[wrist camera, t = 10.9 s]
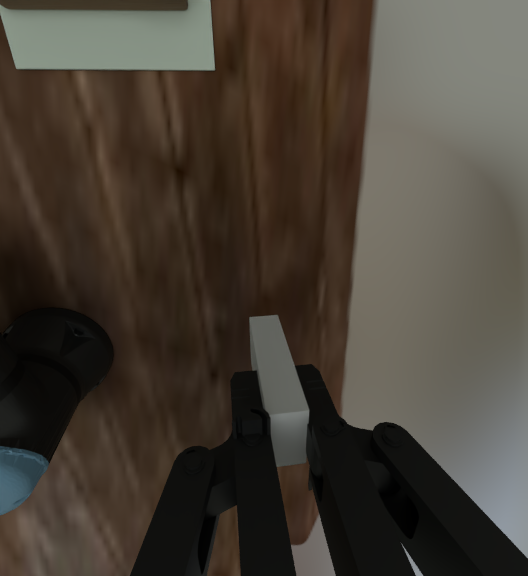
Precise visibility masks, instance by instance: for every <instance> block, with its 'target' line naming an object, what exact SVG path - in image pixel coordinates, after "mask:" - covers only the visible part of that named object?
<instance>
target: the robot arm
mask: <svg viewBox="0 0 528 576" xmlns="http://www.w3.org/2000/svg"><path fill="white" fill-rule="evenodd" d="M249 321H250V347H251V363H252V369H253V371H244V372H235V373H234V375H233V377H232V379H231V400H232V419H233V420H232V429H233V430H232V433H231V436H230V437H229V438H228V440H227V441H226V442H224V443H223V444H222V445H220V446H218V447H216V448H213V449H211V450H209V449H207V448H206V447H202V446H192V447H190V448H188V449H185V450H184V451H183V452H181V453H180V454H179V455H178V457H177V458H176V460H175V461H174V464H173V466H172V469H171V472H170V474H169V477H168V479H167V482H166V484H165V487H164V490H163V492H162V495H161V497H160V500H159V502H158V505H157V508H156V510H155V513H154V515H153V518H152V520H151V523H150V526H149V528H148V531H147V533H146V536H145V539H144V541H143V544H142V546H141V549H140V551H139V554H138V557H137V559H136V562H135V564H134V567H133V569H132V572H131V575H130V576H207V571H208V567H209V562H210V558H211V553H212V548H213V544H214V539H215V534H216V530H217V525H218V520H219V516H220V513H222V512H224V511H226V510H228V509H230V508H232V507H234V506H235V505H237V513H238V531H239V549H240V567H241V576H296V571H295V566H294V560H293V555H292V549H291V544H290V538H289V533H288V527H287V522H286V516H285V511H284V505H283V500H282V494H281V489H280V483H279V478H278V472H277V467H279V466H286V465H294V464H301V463H306V455H307V458H308V461H309V465H310V468H309V482H308V487H309V490H312V488H313V492H314V496H315V499H316V503H317V507H318V511H319V514H320V518H321V522H322V526H323V529H324V533H325V537H326V541H327V544H328V548H329V552H330V556H331V559H332V563H333V567H334V571H335V574H336V576H416V575H415V573H414V571H413V569H412V566H411V564H410V562H409V560H408V557H407V555H406V553H405V551H404V548H405V549H406V551H407V552H408V553H409V555H410V556H411V558H412V559H413V561H414V562H415V564H416V565H417V566H418V568H419V570H420V571H421V573H422V574H423V576H528V558H526V556H525V555H524V554H523V553H522V552H521V551H520V550H519V549H518V548H517V547H516V546H515V545H514V544H513V543H512V542H511V540H510V539H509V538H508V537H507V536H506V535H505V534H504V533H503V532H502V531H501V530H500V529H499V528H498V527H497V526H496V525H495V524H494V523H493V521H492V520H491V519H490V518H489V517H488V516H487V515H486V514H485V513H484V512H483V511H482V510H481V509H480V508H479V507H478V506H477V505H476V503H475V502H474V501H473V500H472V499H471V498H470V497H469V496H468V495H467V494H466V493H465V492H464V491H463V490H462V489H461V488H460V487H459V486H458V484H457V483H456V482H455V481H454V480H453V479H451V477H450V476H449V475H448V474H447V473H446V472H445V471H444V470H443V469H442V468H441V466H440V465H439V464H437V462H436V461H435V460H434V459H433V458H432V457H431V456H430V455H429V454H428V453H427V452H426V451H425V450H424V449H423V448H422V446H421V445H420V444H419V443H418V442H417V441H416V440H415V439H414V438H413V437H412V436H411V435H410V434H409V433H408V432H407V431H406V430H405V429H403V428H402V427H401V426H398V425H397V424H394V423H389V422H384V423H379V424H378V425H376V426H375V427H374V429H373V431H372V430H366V429H360V428H356V427H353V426H351V425H348V424H347V423H346V421H345V420H344V419H343V418H341V417H340V416H339V415H338V413H337V411H336V409H335V406H334V404H333V402H332V399H331V397H330V395H329V392H328V390H327V388H326V385H325V383H324V381H323V379H322V376H321V374H320V372H319V370H318V369H316V368H315V367H314V366H313V365H312V364H308V365H298V366H294V363H293V360H292V357H291V354H290V351H289V348H288V345H287V342H286V339H285V336H284V333H283V330H282V327H281V324H280V321H279V318H278V315H272V316H259V317H249ZM112 361H113V348H112V344H111V342H110V339H109V337H108V336H107V334H106V333H105V332H104V330H103V329H102V328H101V327H100V326H99V325H98V324H96V323H95V322H94V321H92V320H91V319H89V318H88V317H86V316H84V315H82V314H79V313H77V312H74V311H71V310H66V309H60V308H42V309H37V310H33V311H30V312H27V313H25V314H23V315H22V316H20V317H19V318H17V319H16V320H15V321H14V322H13V323H12V324H11V325H10V326H9V327H8V328H7V329H6V330H5V331H4V333H3V334H2V335H1V333H0V515H3V514H5V513H7V512H9V511H11V510H13V509H15V508H16V507H18V506H19V505H21V504H22V503H23V502H24V501H25V500H26V499H27V498H28V497H29V495H30V494H31V493H32V491H33V489H34V488H35V486H36V484H37V483H38V481H39V479H40V477H41V476H42V475H43V474H44V473H45V471H46V470H47V468H48V465H49V463H50V461H51V459H52V457H53V455H54V453H55V451H56V448H57V446H58V444H59V442H60V440H61V438H62V436H63V434H64V432H65V430H66V428H67V426H68V424H69V422H70V420H71V418H72V416H73V414H74V412H75V410H76V408H77V406H78V404H79V402H80V401H81V400H82V399H83V398H84V397H85V396H86V395H87V394H88V393H89V392H90V391H92V390H93V389H95V388H96V387H97V386H98V385H99V384H100V383H101V382H102V381H103V380H104V378H105V377H106V375H107V373H108V371H109V369H110V366H111V364H112ZM401 543H402V544H403V546H404V548H403V547H402V544H401Z"/></svg>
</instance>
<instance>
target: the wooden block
mask: <svg viewBox="0 0 528 576" xmlns="http://www.w3.org/2000/svg"><path fill="white" fill-rule="evenodd" d="M0 5H2V6H3V7H5V8H7V9H43V10H187V9H188V0H0Z"/></svg>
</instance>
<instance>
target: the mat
mask: <svg viewBox="0 0 528 576" xmlns="http://www.w3.org/2000/svg"><path fill="white" fill-rule="evenodd" d="M0 14H1V18H2V21H3V25H4V28H5V31H6V35H7V38H8V42H9V45H10V49H11V52H12V56H13V59H14V62H15V66H16V69H19V70H162V71H215V64H214V49H213V34H212V19H211V4H210V0H188V9H187V10H43V9H7V8H5V7H3V6H2V5H0Z"/></svg>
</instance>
